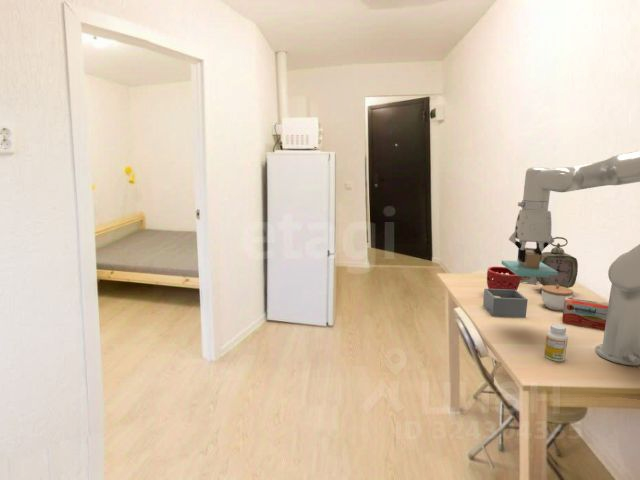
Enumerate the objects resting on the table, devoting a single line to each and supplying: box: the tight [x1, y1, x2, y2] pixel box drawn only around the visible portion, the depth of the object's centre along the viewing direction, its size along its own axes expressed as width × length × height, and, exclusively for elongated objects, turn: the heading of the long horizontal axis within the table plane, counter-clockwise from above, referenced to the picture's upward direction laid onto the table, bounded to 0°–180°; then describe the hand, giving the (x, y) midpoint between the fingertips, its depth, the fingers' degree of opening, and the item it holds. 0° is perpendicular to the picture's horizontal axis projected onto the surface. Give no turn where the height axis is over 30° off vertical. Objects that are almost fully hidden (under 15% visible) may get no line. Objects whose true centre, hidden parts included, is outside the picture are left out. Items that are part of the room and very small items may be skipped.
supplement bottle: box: [544, 323, 569, 362], centre depth 124 cm, size 5×5×10 cm
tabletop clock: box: [536, 236, 579, 294], centre depth 186 cm, size 14×9×25 cm, turn 80°
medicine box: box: [562, 297, 609, 331], centre depth 151 cm, size 15×8×8 cm, turn 60°
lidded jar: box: [541, 285, 574, 311], centre depth 167 cm, size 11×11×9 cm
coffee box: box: [516, 247, 538, 285], centre depth 204 cm, size 9×6×16 cm
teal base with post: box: [501, 250, 558, 277], centre depth 140 cm, size 13×13×7 cm
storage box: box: [482, 288, 529, 318], centre depth 163 cm, size 12×12×7 cm
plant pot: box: [486, 266, 521, 291], centre depth 179 cm, size 13×13×12 cm
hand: (529, 260), depth 140 cm, fingers closed on teal base with post, 4 cm apart
